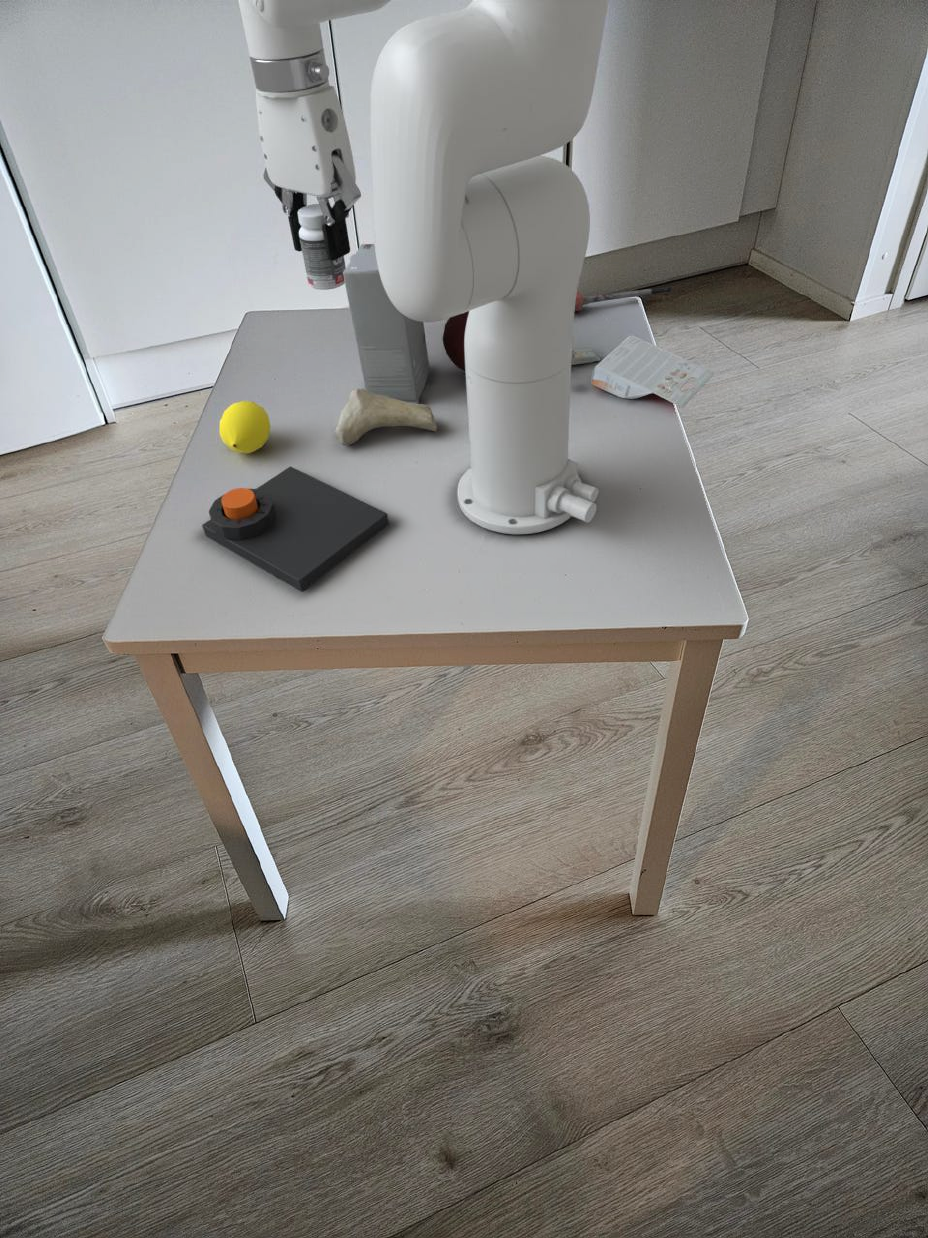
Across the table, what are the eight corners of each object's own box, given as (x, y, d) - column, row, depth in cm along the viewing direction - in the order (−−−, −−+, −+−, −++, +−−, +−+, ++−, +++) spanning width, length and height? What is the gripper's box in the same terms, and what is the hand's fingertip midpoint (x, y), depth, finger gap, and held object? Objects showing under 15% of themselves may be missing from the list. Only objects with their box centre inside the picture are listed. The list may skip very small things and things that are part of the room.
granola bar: (596, 346, 107) (604, 359, 105) (594, 354, 108) (601, 367, 106) (543, 345, 106) (550, 359, 104) (541, 354, 106) (548, 368, 105)
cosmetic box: (418, 405, 102) (405, 272, 90) (359, 403, 103) (339, 270, 92) (432, 368, 108) (420, 239, 96) (376, 366, 109) (358, 238, 97)
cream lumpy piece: (338, 452, 96) (331, 414, 92) (333, 422, 100) (326, 385, 97) (438, 437, 97) (435, 398, 93) (429, 408, 101) (426, 370, 98)
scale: (389, 524, 86) (385, 500, 84) (301, 592, 80) (295, 568, 78) (292, 476, 93) (287, 453, 91) (204, 535, 87) (196, 512, 85)
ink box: (625, 349, 107) (707, 391, 104) (588, 383, 102) (674, 428, 99) (631, 329, 105) (716, 371, 102) (594, 362, 100) (682, 408, 97)
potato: (441, 360, 108) (435, 288, 102) (536, 349, 109) (536, 276, 103) (449, 396, 102) (444, 322, 96) (549, 384, 103) (551, 310, 96)
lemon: (238, 429, 100) (226, 387, 96) (283, 431, 99) (273, 389, 96) (216, 465, 95) (203, 422, 92) (263, 467, 95) (251, 425, 91)
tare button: (264, 507, 85) (261, 495, 84) (239, 524, 83) (236, 512, 82) (243, 496, 87) (239, 483, 86) (218, 512, 85) (214, 500, 84)
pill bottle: (345, 289, 103) (333, 215, 97) (305, 291, 103) (291, 218, 97) (350, 273, 106) (338, 201, 100) (311, 275, 106) (298, 203, 100)
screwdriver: (675, 303, 117) (666, 295, 120) (678, 281, 115) (668, 273, 118) (498, 327, 114) (492, 318, 116) (497, 305, 112) (491, 296, 114)
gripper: (375, 71, 87) (397, 254, 100) (263, 57, 95) (296, 228, 108) (321, 90, 83) (352, 278, 96) (209, 73, 91) (251, 249, 104)
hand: (322, 250), depth 102 cm, fingers closed on pill bottle, 4 cm apart
